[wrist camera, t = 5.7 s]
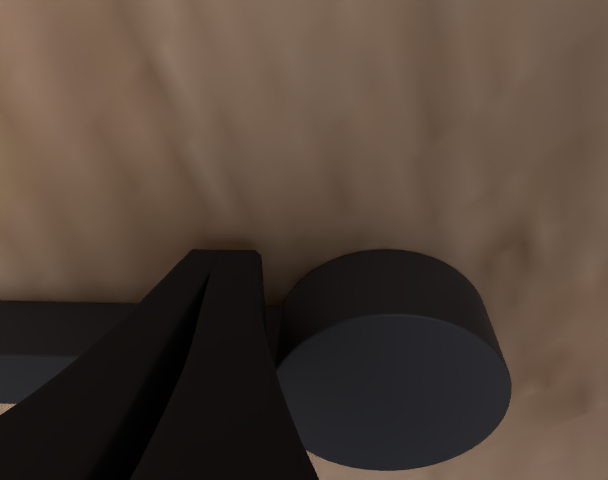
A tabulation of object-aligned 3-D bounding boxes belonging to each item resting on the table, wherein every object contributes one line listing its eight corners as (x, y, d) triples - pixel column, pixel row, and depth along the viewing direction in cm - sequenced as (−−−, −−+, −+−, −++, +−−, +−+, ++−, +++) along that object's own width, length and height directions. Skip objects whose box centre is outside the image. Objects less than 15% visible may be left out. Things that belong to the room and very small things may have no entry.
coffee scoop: (-76, 387, 14) (-131, 454, 12) (-172, 241, 11) (-260, 302, 9) (467, 402, 13) (487, 474, 11) (506, 250, 10) (539, 317, 9)
